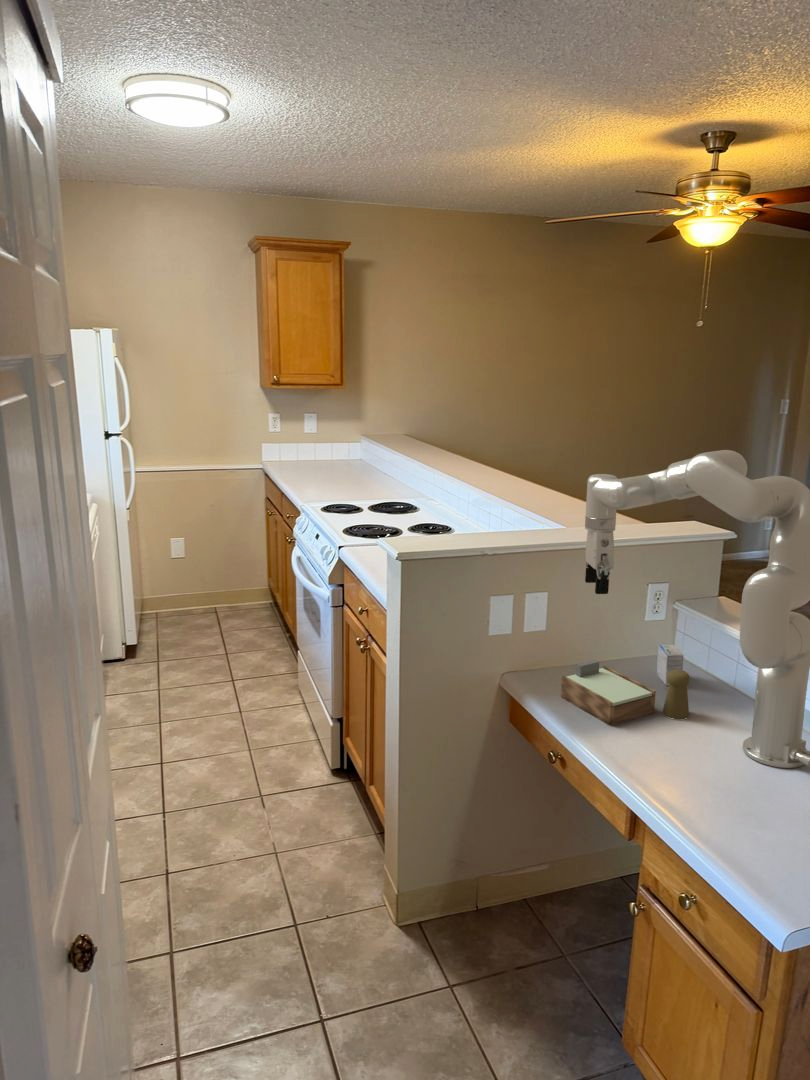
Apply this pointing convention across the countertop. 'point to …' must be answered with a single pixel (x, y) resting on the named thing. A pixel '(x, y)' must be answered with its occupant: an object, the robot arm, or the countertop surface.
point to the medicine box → (668, 661)
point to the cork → (677, 695)
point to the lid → (607, 683)
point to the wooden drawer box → (607, 701)
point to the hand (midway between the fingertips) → (596, 587)
